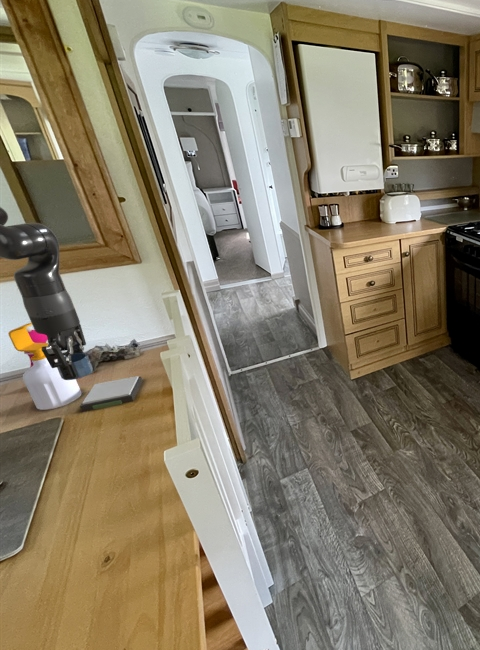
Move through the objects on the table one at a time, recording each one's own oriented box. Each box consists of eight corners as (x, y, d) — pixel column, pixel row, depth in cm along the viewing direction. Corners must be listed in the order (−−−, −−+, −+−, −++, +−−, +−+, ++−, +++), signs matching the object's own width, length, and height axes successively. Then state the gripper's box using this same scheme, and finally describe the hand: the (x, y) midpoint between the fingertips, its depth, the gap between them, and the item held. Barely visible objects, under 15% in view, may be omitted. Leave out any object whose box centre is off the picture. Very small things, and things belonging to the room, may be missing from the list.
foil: (145, 353, 126) (85, 342, 116) (130, 381, 127) (69, 373, 116) (144, 338, 135) (88, 327, 124) (130, 365, 135) (73, 356, 124)
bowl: (57, 382, 91) (50, 366, 89) (67, 370, 96) (61, 355, 94) (88, 377, 94) (81, 361, 92) (96, 366, 98) (91, 351, 97)
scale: (82, 414, 102) (78, 405, 101) (96, 391, 111) (93, 383, 110) (133, 403, 107) (130, 394, 106) (143, 382, 116) (140, 374, 115)
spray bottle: (62, 411, 103) (26, 331, 94) (27, 411, 102) (-14, 331, 93) (90, 391, 111) (59, 316, 102) (57, 392, 111) (23, 316, 102)
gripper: (44, 301, 93) (69, 360, 99) (11, 324, 81) (42, 390, 87) (84, 297, 96) (106, 355, 102) (59, 319, 84) (84, 382, 90)
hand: (76, 371), depth 94 cm, fingers closed on bowl, 6 cm apart
